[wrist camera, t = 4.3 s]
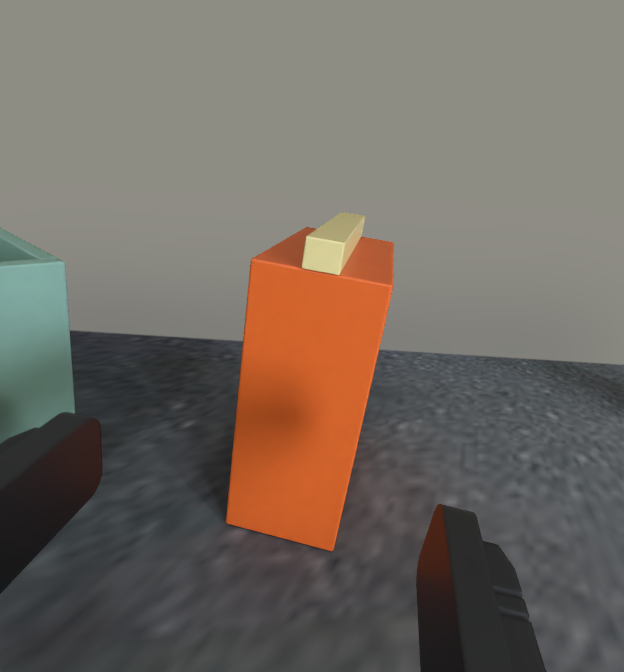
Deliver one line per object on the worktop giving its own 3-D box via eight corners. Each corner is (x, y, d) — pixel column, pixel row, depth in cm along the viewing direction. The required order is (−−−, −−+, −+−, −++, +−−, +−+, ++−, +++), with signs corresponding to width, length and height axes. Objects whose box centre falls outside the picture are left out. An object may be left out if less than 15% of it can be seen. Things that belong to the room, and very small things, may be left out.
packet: (224, 525, 17) (252, 226, 13) (280, 411, 26) (308, 206, 21) (332, 554, 17) (401, 253, 12) (353, 427, 25) (398, 221, 21)
